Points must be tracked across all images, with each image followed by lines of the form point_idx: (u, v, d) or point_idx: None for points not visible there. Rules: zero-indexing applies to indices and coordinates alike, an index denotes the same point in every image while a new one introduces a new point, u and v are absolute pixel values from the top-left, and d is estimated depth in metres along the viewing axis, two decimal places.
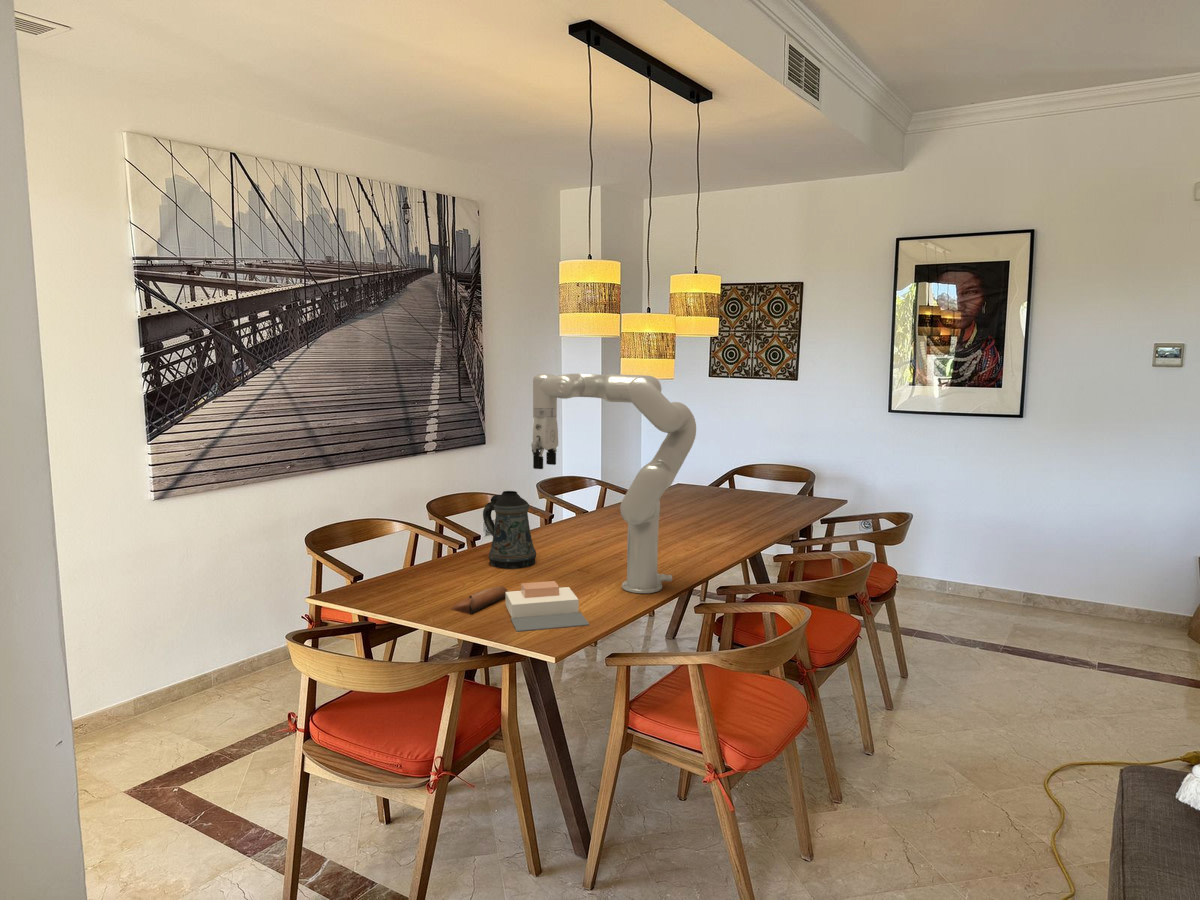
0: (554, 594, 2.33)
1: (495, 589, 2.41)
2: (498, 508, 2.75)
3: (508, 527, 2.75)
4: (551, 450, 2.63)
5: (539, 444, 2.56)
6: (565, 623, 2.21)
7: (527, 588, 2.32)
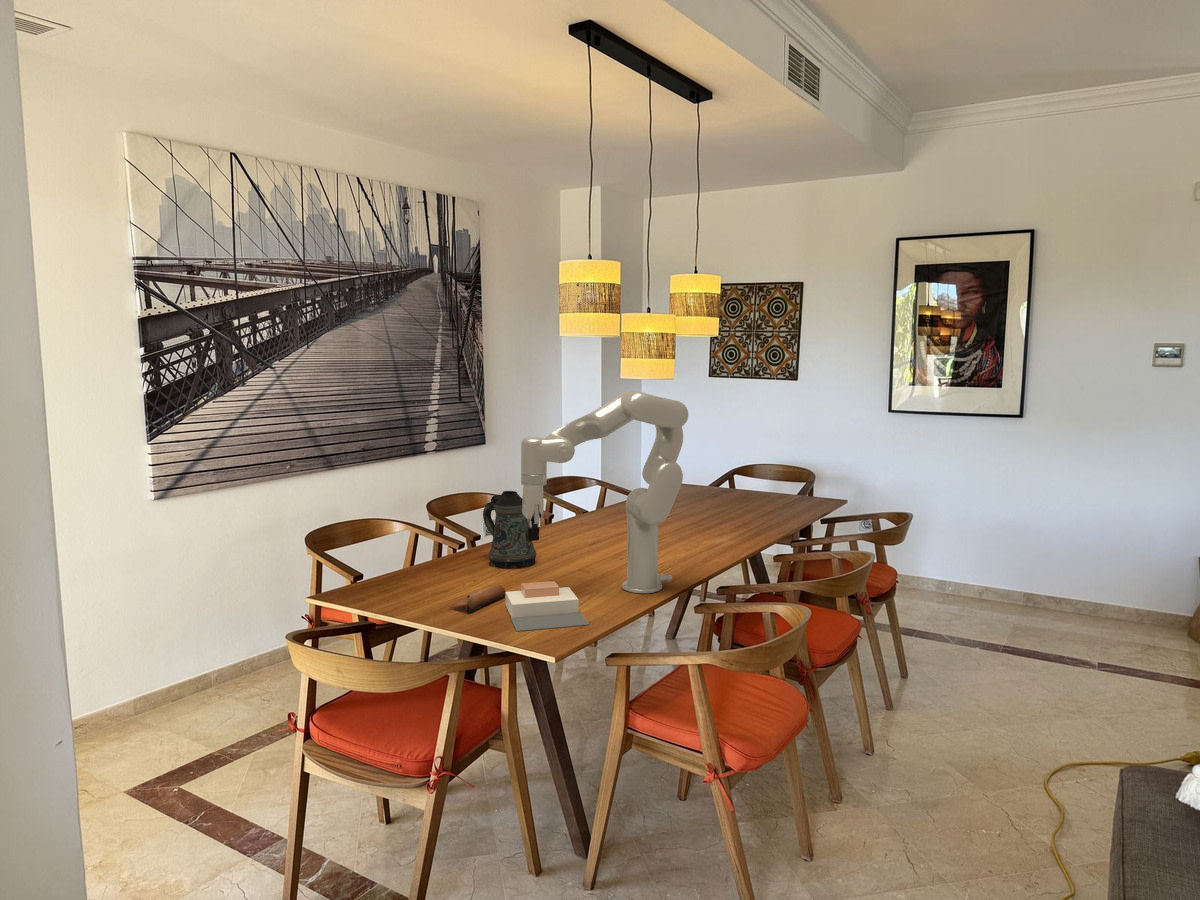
0: (554, 594, 2.33)
1: (493, 588, 2.41)
2: (498, 508, 2.75)
3: (508, 527, 2.75)
4: None
5: None
6: (565, 623, 2.21)
7: (527, 588, 2.32)
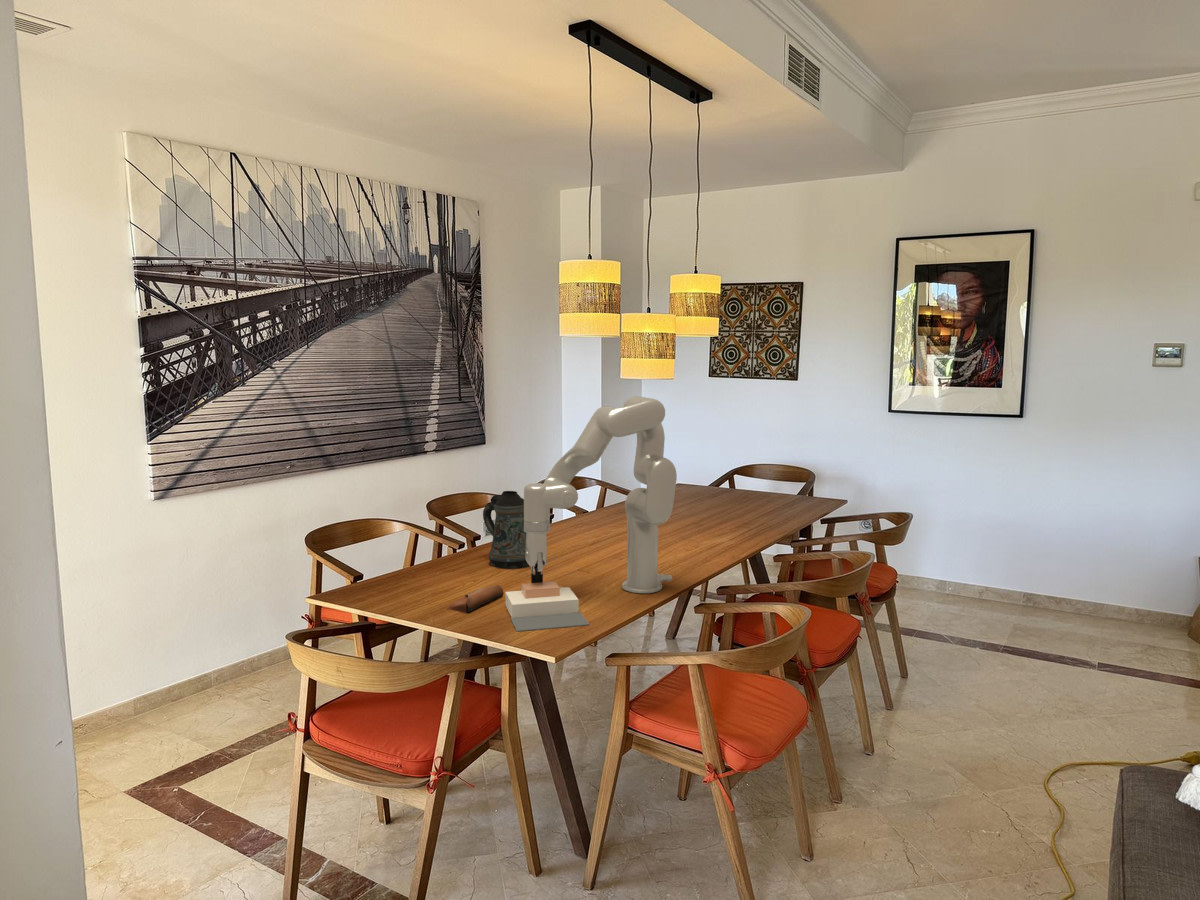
0: (555, 595, 2.33)
1: (490, 588, 2.42)
2: (498, 508, 2.75)
3: (508, 527, 2.75)
4: None
5: None
6: (565, 623, 2.21)
7: (528, 589, 2.31)
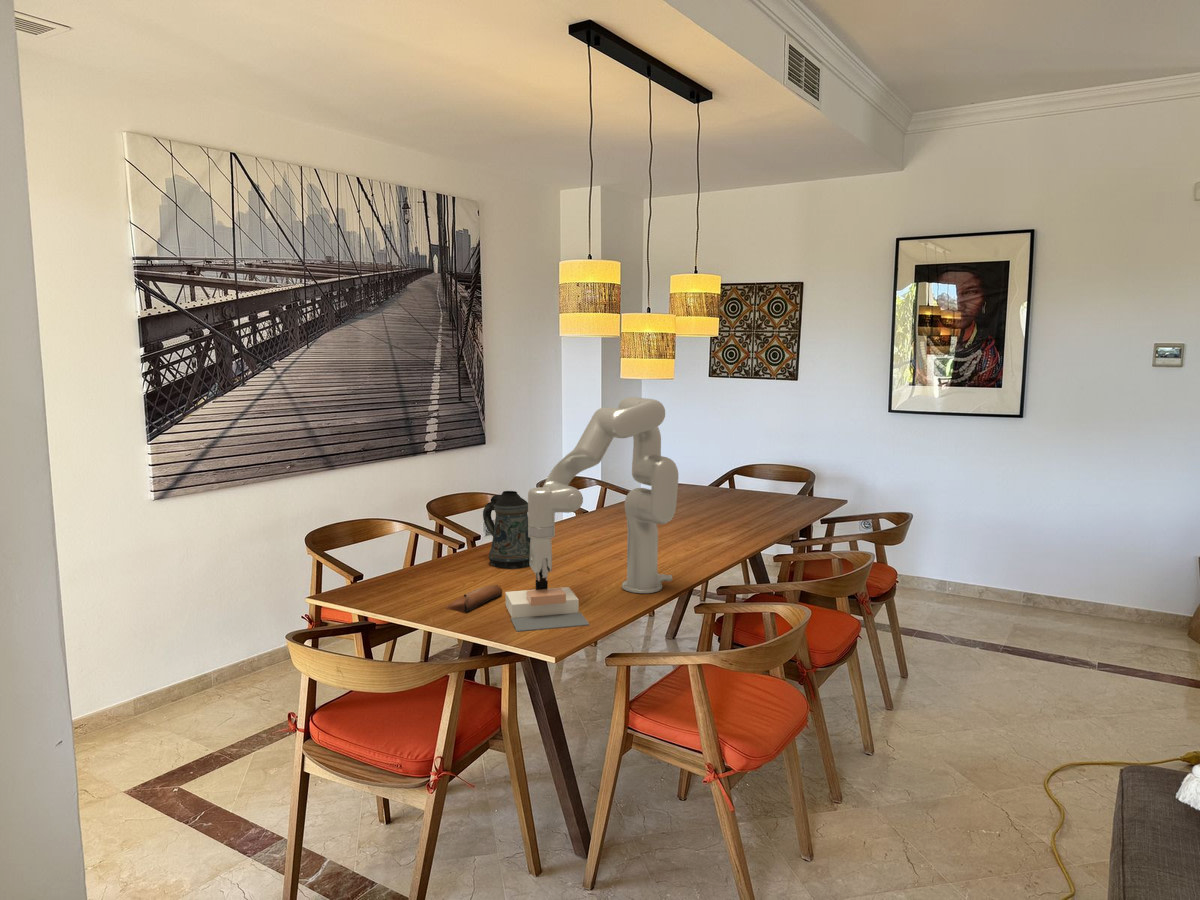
0: (561, 602, 2.27)
1: (489, 588, 2.42)
2: (498, 508, 2.75)
3: (508, 527, 2.75)
4: None
5: None
6: (565, 623, 2.21)
7: (533, 596, 2.25)
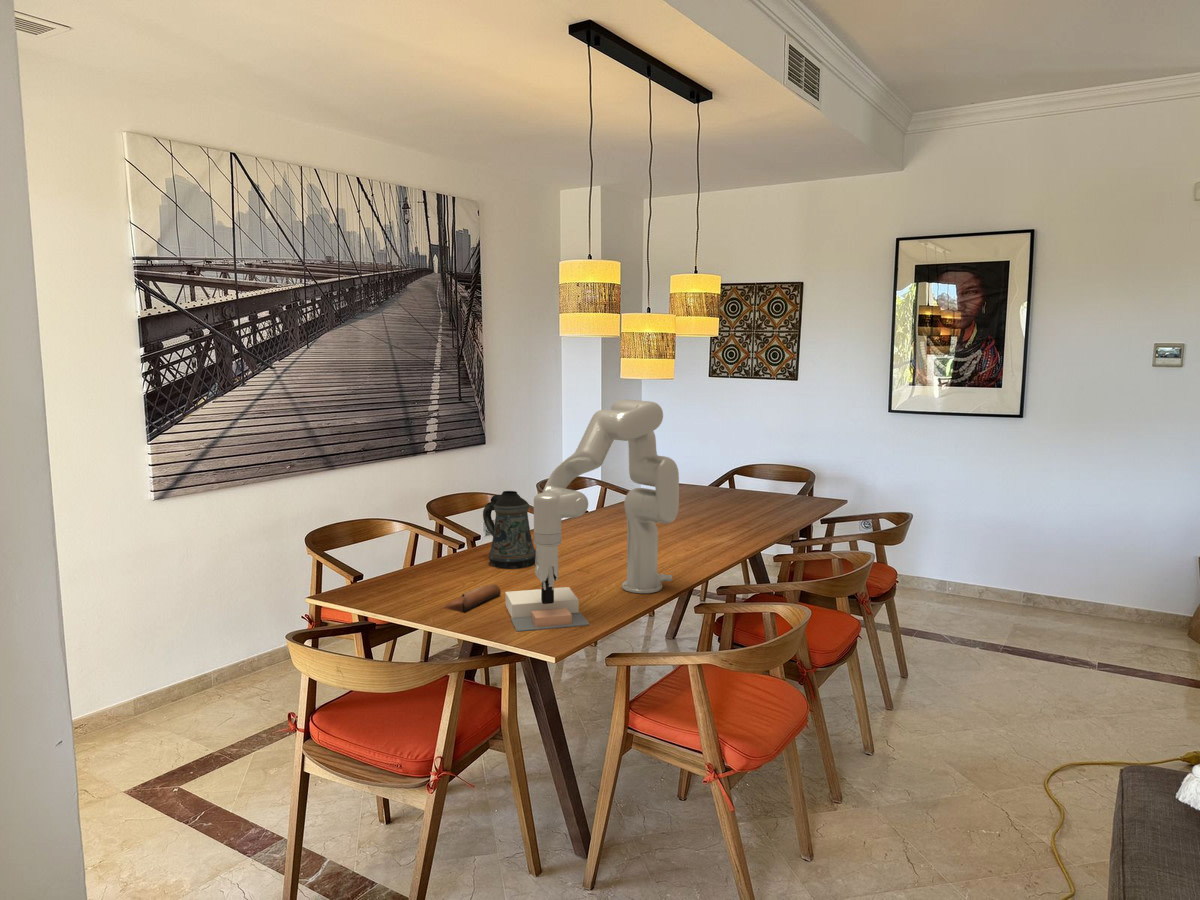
0: None
1: (487, 587, 2.42)
2: (498, 508, 2.75)
3: (508, 527, 2.75)
4: None
5: None
6: None
7: None
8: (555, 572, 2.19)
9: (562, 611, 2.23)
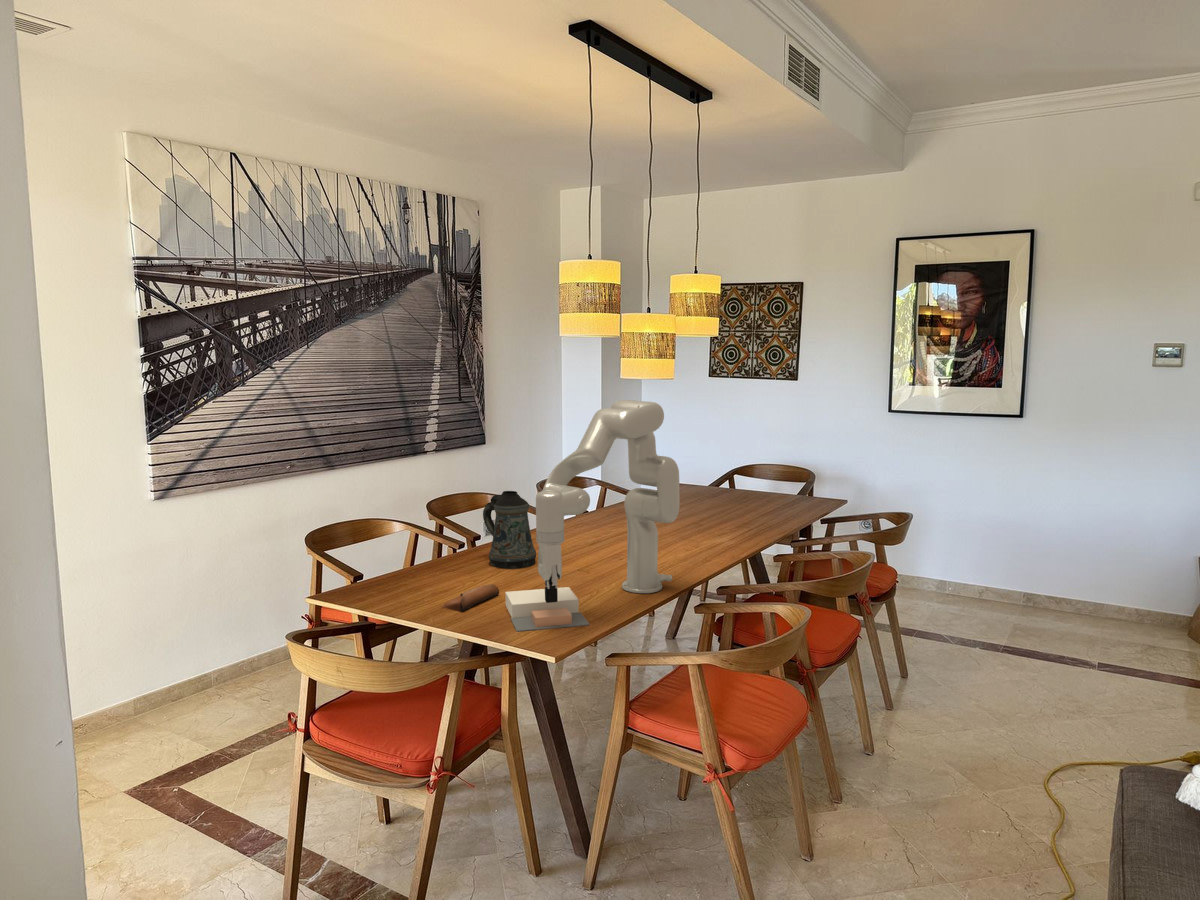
0: None
1: (486, 587, 2.43)
2: (498, 508, 2.75)
3: (508, 527, 2.75)
4: None
5: None
6: None
7: None
8: (558, 571, 2.16)
9: (562, 611, 2.23)
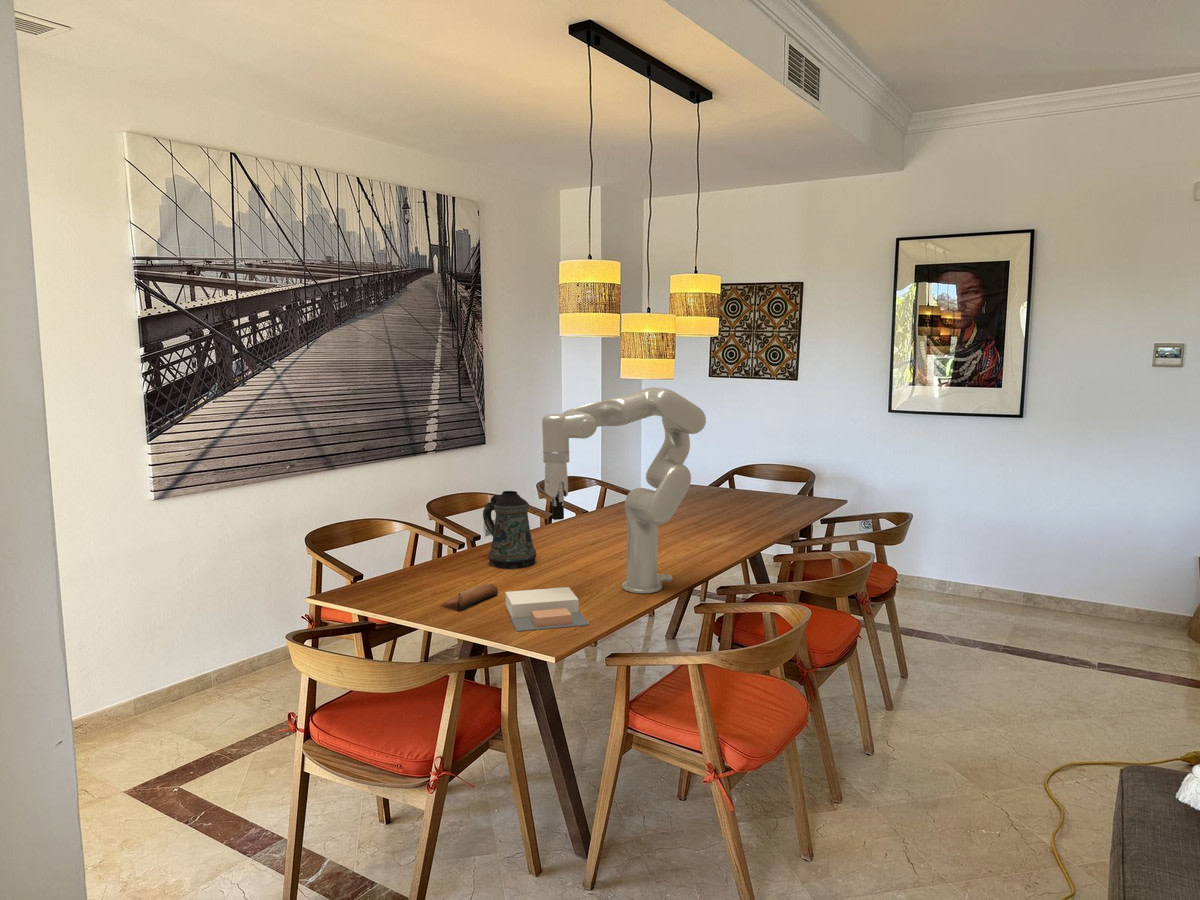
0: None
1: (484, 587, 2.43)
2: (498, 508, 2.75)
3: (508, 527, 2.75)
4: None
5: None
6: None
7: None
8: (565, 488, 2.31)
9: (562, 611, 2.23)
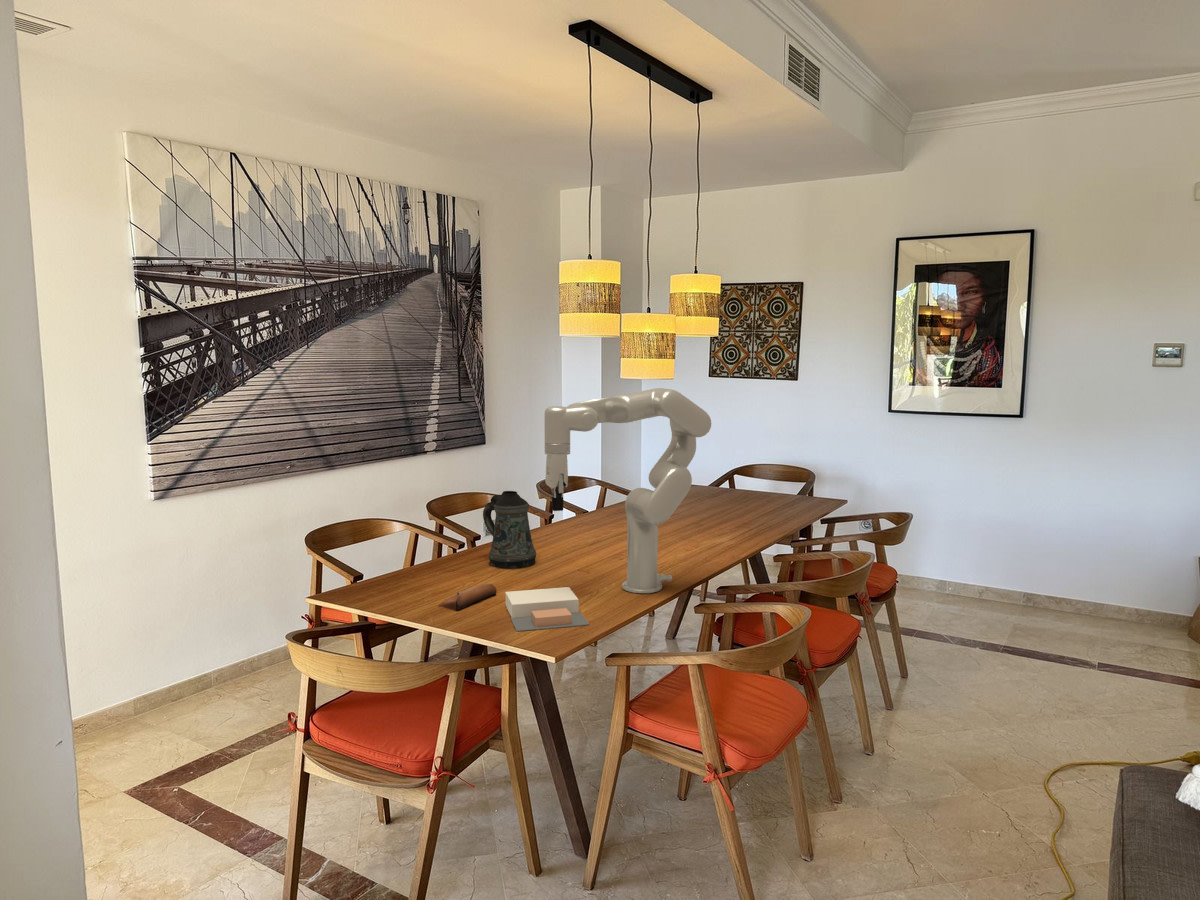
0: None
1: (483, 586, 2.43)
2: (498, 508, 2.75)
3: (508, 527, 2.75)
4: None
5: None
6: None
7: None
8: (565, 479, 2.34)
9: (562, 611, 2.23)
